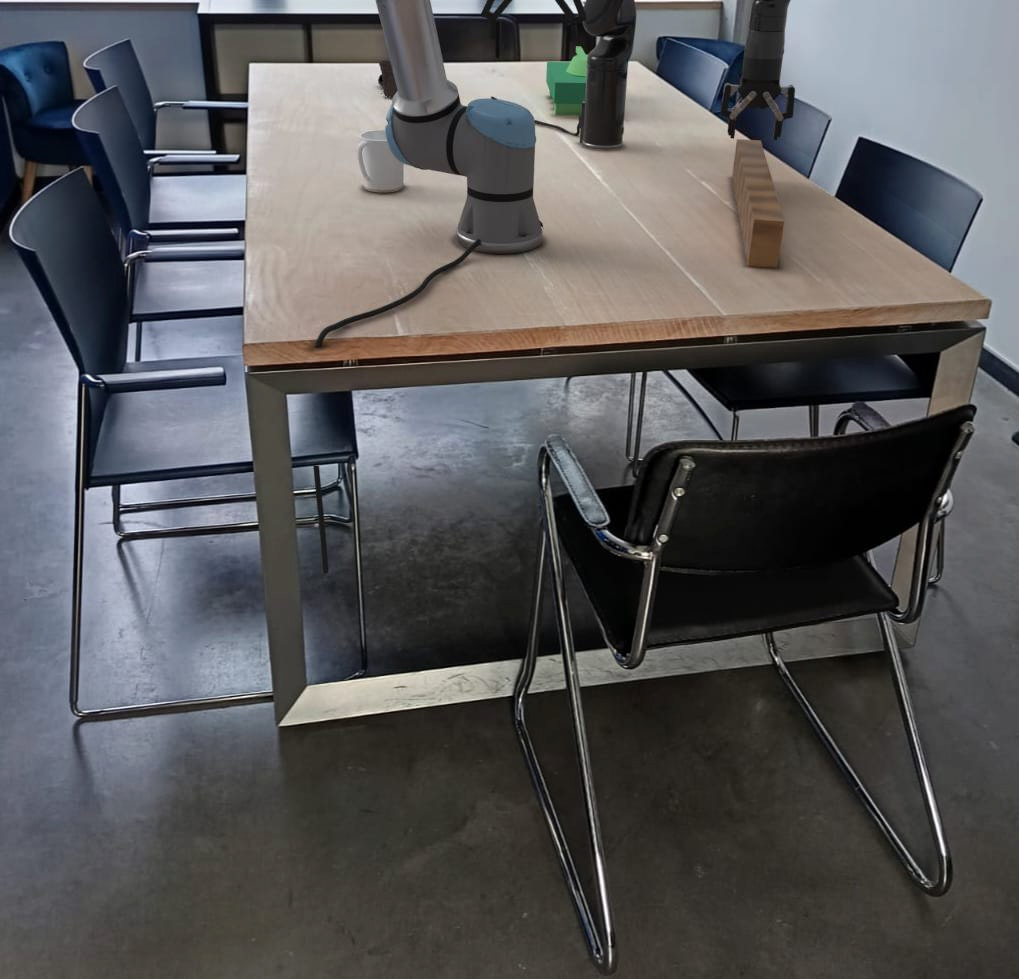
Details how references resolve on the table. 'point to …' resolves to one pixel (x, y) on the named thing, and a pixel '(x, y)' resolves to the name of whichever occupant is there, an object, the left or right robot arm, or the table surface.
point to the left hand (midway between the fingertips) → (532, 58)
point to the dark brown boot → (387, 79)
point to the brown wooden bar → (757, 205)
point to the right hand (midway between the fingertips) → (753, 138)
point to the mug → (379, 163)
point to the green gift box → (568, 83)
